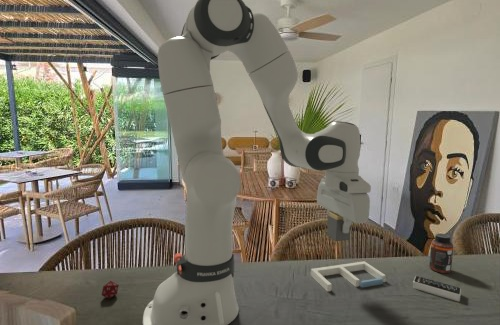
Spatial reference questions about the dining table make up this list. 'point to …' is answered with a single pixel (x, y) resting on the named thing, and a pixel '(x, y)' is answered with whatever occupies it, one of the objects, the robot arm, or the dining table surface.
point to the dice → (110, 290)
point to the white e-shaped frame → (348, 274)
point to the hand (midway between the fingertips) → (338, 228)
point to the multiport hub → (437, 288)
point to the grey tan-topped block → (336, 228)
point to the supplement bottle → (441, 254)
